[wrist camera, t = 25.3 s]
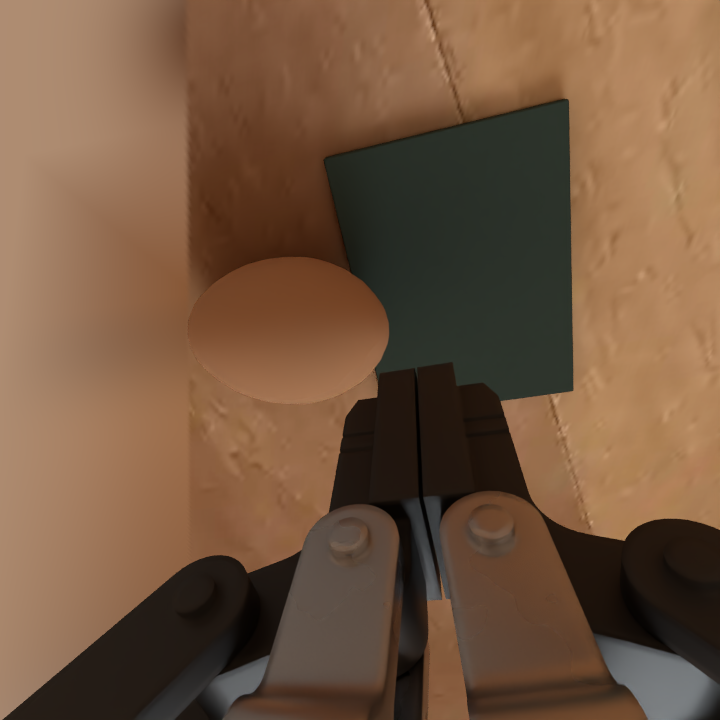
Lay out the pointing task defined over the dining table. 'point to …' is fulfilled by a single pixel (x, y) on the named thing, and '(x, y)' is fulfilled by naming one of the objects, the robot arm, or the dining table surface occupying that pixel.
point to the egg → (289, 330)
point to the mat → (468, 247)
